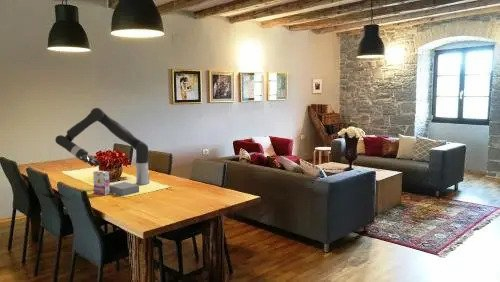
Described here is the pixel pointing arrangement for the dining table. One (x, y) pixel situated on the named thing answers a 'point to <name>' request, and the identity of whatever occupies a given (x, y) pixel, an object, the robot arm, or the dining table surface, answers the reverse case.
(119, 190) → the charcoal plinth
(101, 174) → the candy bar box
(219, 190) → the dining table surface
